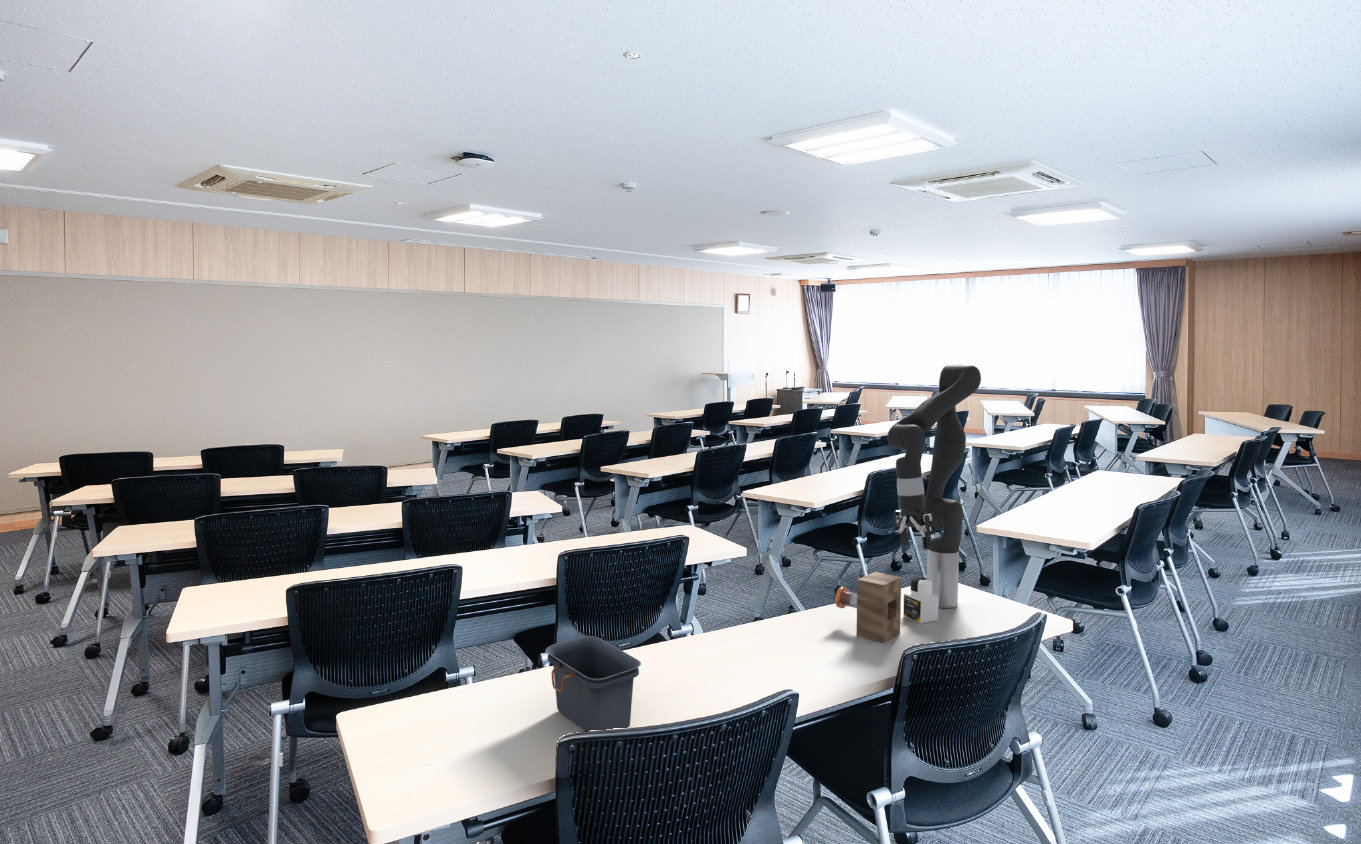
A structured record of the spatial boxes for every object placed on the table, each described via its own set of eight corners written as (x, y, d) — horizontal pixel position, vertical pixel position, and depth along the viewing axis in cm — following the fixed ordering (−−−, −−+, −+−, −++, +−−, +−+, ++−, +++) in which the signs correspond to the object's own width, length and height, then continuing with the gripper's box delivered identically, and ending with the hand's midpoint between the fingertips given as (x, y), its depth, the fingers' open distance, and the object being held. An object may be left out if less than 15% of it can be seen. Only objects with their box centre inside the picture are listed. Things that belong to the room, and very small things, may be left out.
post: (874, 626, 214) (875, 571, 213) (900, 633, 209) (901, 577, 208) (856, 635, 207) (857, 579, 206) (882, 643, 202) (883, 585, 200)
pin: (845, 604, 218) (845, 584, 218) (887, 615, 209) (887, 594, 209) (834, 609, 214) (835, 589, 213) (876, 620, 205) (877, 599, 204)
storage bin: (648, 728, 156) (648, 662, 154) (585, 754, 146) (584, 683, 145) (592, 693, 172) (591, 633, 171) (532, 714, 162) (531, 650, 161)
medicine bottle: (902, 616, 222) (903, 577, 221) (921, 613, 225) (922, 574, 224) (919, 624, 216) (920, 583, 215) (938, 620, 219) (939, 580, 218)
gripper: (938, 492, 214) (943, 548, 214) (902, 489, 226) (907, 541, 227) (919, 496, 210) (924, 553, 211) (884, 492, 223) (889, 546, 223)
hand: (915, 547), depth 219 cm, fingers open, 8 cm apart
